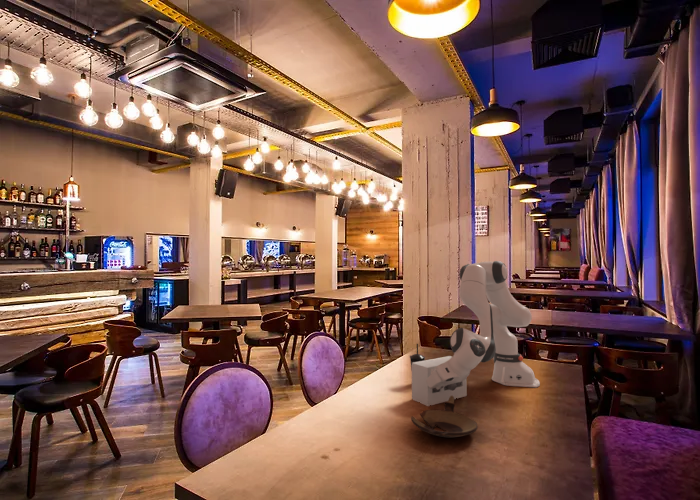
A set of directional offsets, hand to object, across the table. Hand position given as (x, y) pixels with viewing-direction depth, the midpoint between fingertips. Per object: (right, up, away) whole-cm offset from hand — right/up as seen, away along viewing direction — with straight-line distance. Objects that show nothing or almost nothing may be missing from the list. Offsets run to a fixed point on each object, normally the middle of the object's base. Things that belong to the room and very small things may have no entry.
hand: (438, 387), depth 165 cm
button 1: (+10, -2, +10) cm, 14 cm away
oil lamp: (-3, -7, -26) cm, 27 cm away
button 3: (-1, -2, +2) cm, 3 cm away
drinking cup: (-4, -9, +28) cm, 30 cm away
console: (+2, -8, +9) cm, 12 cm away
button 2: (+6, -2, +4) cm, 7 cm away
